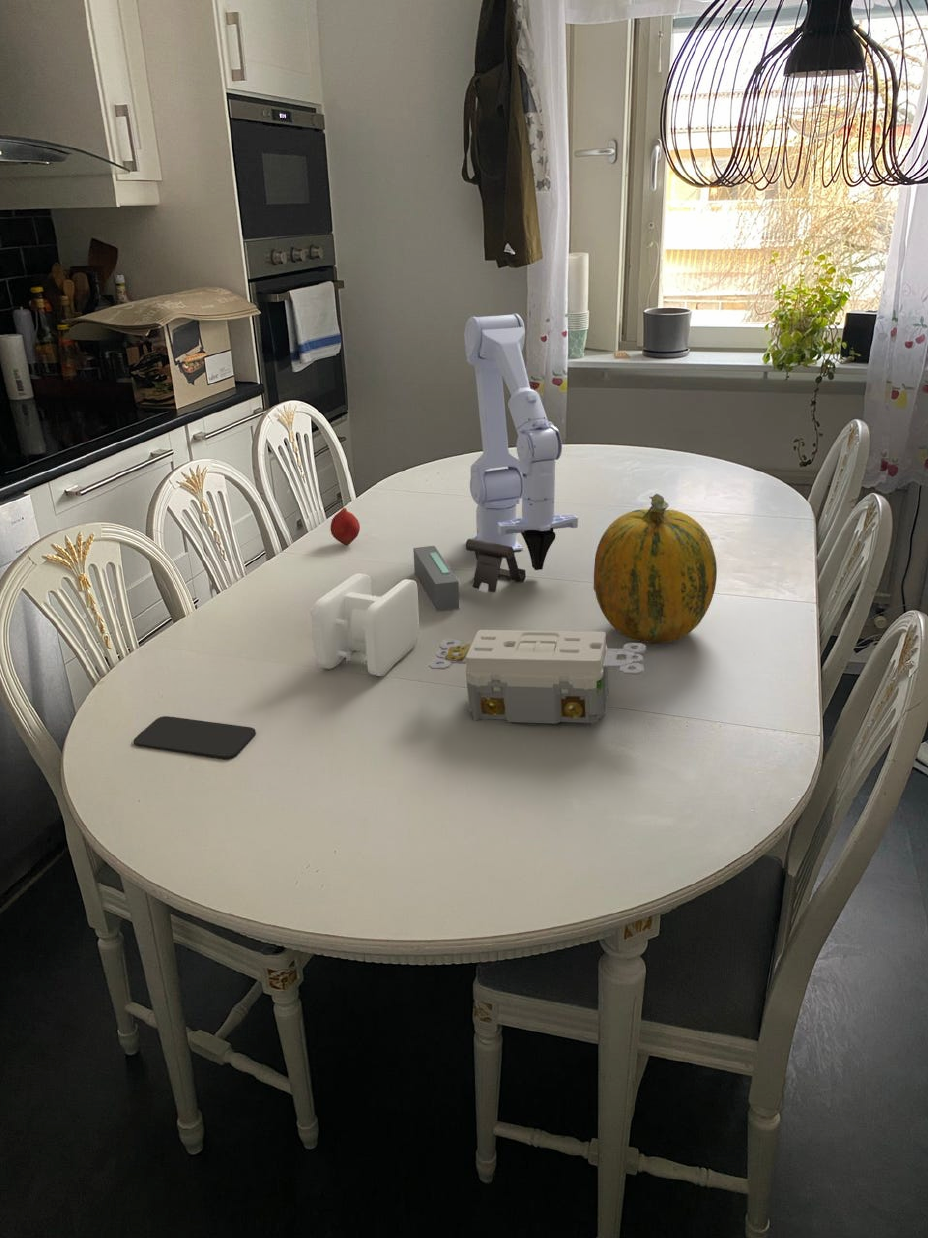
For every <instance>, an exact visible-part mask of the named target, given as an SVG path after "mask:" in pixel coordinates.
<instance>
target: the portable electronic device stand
mask: <svg viewBox="0 0 928 1238" xmlns="http://www.w3.org/2000/svg"><path fill="white" fill-rule="evenodd" d="M465 550H466V551H469V552H474V556H475V560H476V566H475V571H474V576H473V581H472V588H473V589H475V590H480V587H481V584H482V583H483V584H486V585H487V586H488V588H487V589H488V590H487V592H489V593H496V589H497V586H498V585H497V584H498V579H499V578H501V579H505V580H510V581H514V582H518V583H519V582H520V583H524V581H525V579H526V577H527V576H526V569H523V568H519V566H518V562H517V558H516V555H515V552H514V551H513V548H512V547H510V546H505V545H500V544H495V543H490V542H485V541H480V540H475V539H472V538H467V540H466V541H465ZM503 559H506V564H507V568H508V569H505V568H501V566H502V565H501V564H502V560H503Z"/></svg>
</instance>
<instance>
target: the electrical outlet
mask: <svg viewBox="0 0 928 1238" xmlns="http://www.w3.org/2000/svg"><path fill="white" fill-rule="evenodd" d="M462 644H463V643H462V641H460V640H459V639H446V640H443V641H441V642H440V644H439V645H438V646H439V649H441V650H439V651H437V652H436V654H435V656H436V658H435V659H432V660H430V662H429V663H428V668H430V669H431V670H447V669H449V668H451V666H452V664H457V665H458V664H459V665H461V664H462V665H466V668H465V679H466V690H467V698H468V707H469V710H470V711H469V712H470V714H472V717H473V720H474V721H478V720H480V719H482V720H483V719H484V720H485V719H486V720H504V721H505V720H506V721H507V722H509V723H511V722H512V723H534V724H535V723H537V724H558V723H559V722H561V723H562V722H563V723H565V722H566V723H586V724H588V723H590V725H591V724H592V725H594V722H595V723H598V722H599V719H600V718H602V717H603V716H604V715H605V714H606V713H607V705H608V704H607V703H608V697H609V669H608V668H619V672H620V673H622V674H624V675H640V674H642V673H643V674H644V664H641V663H642V662H643V661H644V656H643V655H642V654H643V653H646V648H647V646H646V644H644V643H642V642H628V643H626V644H624V645H623V648H608V646H607V633H606V632H604V631H576V630H575V631H573V630H572V631H571V630H570V631H569V630H565V631H564V630H520V629H519V630H516V629H515V630H513V629H511V630H510V629H509V630H508V629H507V630H505V629H479V630H478V631H477V632H476V634H475V636H474V638H473V640H472V642H471V644H470V643H467V644H466V643H465V644H464V645H462ZM454 653H458V654H457V655H453V654H454ZM618 657H625V659H618Z"/></svg>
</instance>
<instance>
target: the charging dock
mask: <svg viewBox="0 0 928 1238" xmlns="http://www.w3.org/2000/svg"><path fill="white" fill-rule="evenodd" d="M412 551H413V567H414V568H413V571H414V575H415V577H416V578H417V580H418V582H419V584H420V585H421V587H422V589H423V590H424V592H425V594H426V595H427V597H428V598H429V601H430V602H431V604H432V605H433V606H432V607H435V608H434V609H435V611H436V612H440V611H449V610H458V609H460V585H459V584H460V582H459V580H458V578H457V576H456V575H455V574H454V572H453V571H452V569H451V568H450V566H449V564H448V563H447V562H446V560H445V558H444V557H443V556H442V555H441V553H440V551H439V550H438V549H437V547H436V546H435V545H428V546H421V547H420V546H419V547H413V550H412Z"/></svg>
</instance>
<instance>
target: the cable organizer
mask: <svg viewBox="0 0 928 1238" xmlns="http://www.w3.org/2000/svg"><path fill="white" fill-rule="evenodd" d="M418 591H419V590H418V584H417V582H416V581H415V580H413V579H406V578H405V579H402V580H401V581H400V582H399V583H397V584H395V586H393V587H392V588H391V589H389V590H388V591H387V592H385V593H384V594H383V595H382V596H378V595H376V593H375V594H374V595H373V594H372V580H371V577H370V575H368V574H365V573H354V574H352V575H351V576H350V577H348V578H347V579H345V580H344V581H343V582H341V583H340V584H338V585H337V586H336V587H334V588H333V589H331V590H330V591H329V592H327V593H326V594H324V595H323V596H321V597H320V598H318V600H316V602H315V603H314V604H313V607H311V608H310V616H311V624H312V634H313V646H314V657H315V663H316V665H317V667H319V668H324V669H329V670H331V669H333V668H335V667H336V666H338V665H339V664H340V663H342V661H344V659H346V660H345V661H346V663H348V661H349V663H351V656H352V653H353V652H359V653H365V655H363V658H364V664H363V666H365V665H367V671H368V673H369V674H370V675H373V676H379V677H383V676H385V675H386V674H387V673H388V672H389V671H390V670H391V669H392V668H393V666H395V664H396V663H398V661H400V660H401V659H402V658H404V657H406V656H407V654H408V653H409V652H411V651H412V649H413V648H414V647H415V645H416V644H417V642H418V640H419V636H420V617H419V614H420V613H419V596H418V595H419V594H418V593H419V592H418Z"/></svg>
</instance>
